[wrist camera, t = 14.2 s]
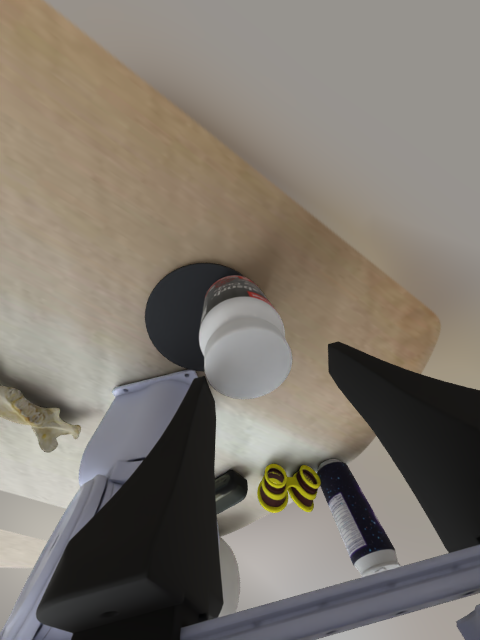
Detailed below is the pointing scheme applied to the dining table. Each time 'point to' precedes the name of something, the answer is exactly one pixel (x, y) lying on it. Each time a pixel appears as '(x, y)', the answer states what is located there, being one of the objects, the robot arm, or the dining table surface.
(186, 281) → the mat
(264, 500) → the opera glasses
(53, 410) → the bone
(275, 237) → the dining table surface
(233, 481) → the zucchini
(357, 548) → the beverage can
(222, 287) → the pill bottle
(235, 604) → the alien head
